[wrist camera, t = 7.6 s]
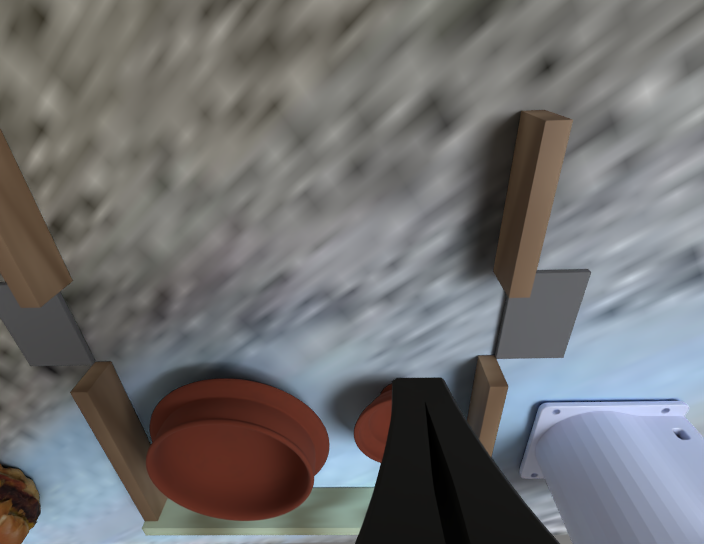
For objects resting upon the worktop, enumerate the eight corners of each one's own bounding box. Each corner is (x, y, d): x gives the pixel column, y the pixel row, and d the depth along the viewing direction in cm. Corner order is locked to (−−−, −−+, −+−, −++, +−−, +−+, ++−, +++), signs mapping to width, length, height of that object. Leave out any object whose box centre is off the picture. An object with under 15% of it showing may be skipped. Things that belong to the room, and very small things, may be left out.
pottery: (131, 370, 25) (91, 428, 21) (440, 319, 23) (456, 374, 19) (205, 474, 31) (183, 535, 27) (457, 443, 28) (472, 505, 24)
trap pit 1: (55, 281, 21) (51, 284, 21) (95, 361, 24) (92, 365, 24) (-16, 282, 21) (-20, 285, 21) (34, 362, 24) (30, 366, 24)
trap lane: (544, 109, 16) (579, 122, 14) (466, 494, 31) (475, 534, 29) (-22, 129, 17) (-89, 144, 15) (162, 495, 32) (145, 535, 29)
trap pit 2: (588, 269, 20) (591, 272, 20) (560, 354, 23) (563, 357, 23) (511, 271, 21) (513, 274, 20) (494, 355, 24) (496, 358, 23)
